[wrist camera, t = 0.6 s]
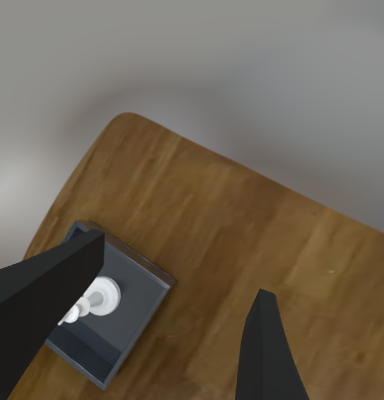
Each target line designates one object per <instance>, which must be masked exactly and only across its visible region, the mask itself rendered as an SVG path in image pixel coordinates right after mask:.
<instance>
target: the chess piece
mask: <svg viewBox="0 0 384 400" xmlns="http://www.w3.org/2000/svg"><path fill="white" fill-rule="evenodd" d="M120 299H121V293H120V289H119V286H118V285H117V283H116V282H115V281H114V280H113V279H111V278H109V277H105V276H101V277H97V278H95V280H94V281H93V283H92V284H91V285H90V287H89V288H88V289H87V290H86V292H85V293H84V294H83V297H80V299H79V300H78V301H77V302H76V303H75V305H74V306H73V307H72V308H71V309H70V310H69V312H68V313H67V314H66V315H65V316H64V317H63V319H62V320H61V321H60V322H59V323H58V325H61V324H62V323H63V321H65V322H68V323H72V322H74V321H76V320H77V319H78V317H79V316H85V315H87V314H88V313H89V311H90V312H91V313H93V314H95V315H99V316H103V315H107V314H110V313H112V312H113V311H114V310H115V309H116V308H117V307H118V305H119V303H120Z"/></svg>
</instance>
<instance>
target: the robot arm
mask: <svg viewBox="0 0 384 400" xmlns="http://www.w3.org/2000/svg"><path fill="white" fill-rule="evenodd" d="M104 249H105V233H104V232H102V231H99V230H96V229H91V230H89V231H87V232H85V233H83V234H81V235H79V236H77V237H75V238H73V239H71V240H69V241H67V242H64V243H62V244H60V245H58V246H56V247H54V248H52V249H50V250H48V251H45V252H43V253H40V254H38V255H36V256H33V257H31V258H29V259H26V260H24V261H21V262H19V263H16V264H13V265H11V266H8V267H5V268H2V269H0V400H7V398H8V397H9V395H10V394H11V392H12V391H13V389H14V387H15V386H16V384H17V383H18V381H19V379H20V378H21V376H22V375H23V373H24V372H25V370H26V369H27V367H28V366H29V364H30V363H31V361H32V360H33V358H34V357H35V355H36V354H37V352H38V351H39V349H40V348H41V347H42V345H43V344H44V342H45V341H46V339H47V338H48V337H49V335H50V334H51V332H52V331H53V330H54V328H55V327H56V326H57V325H58V323H59V322H60V321H61V320H62V319H63V317H64V316H65V315H66V314H67V313H68V312H69V310H70V309H71V308H72V307H73V306H74V305H75V303H76V302H77V301H78V300H79V299H80V297H81V296H82V295H83V294H84V293H85V292H86V290H87V289H88V288H89V287H90V285H91V284H92V283H93V281H94V280H95V278H96V277H97V275H98V274H99V272H100V271H101V269H102V268H103V266H104ZM235 400H309V397H308V395H307V393H306V390H305V388H304V386H303V383H302V381H301V379H300V376H299V374H298V371H297V368H296V366H295V363H294V360H293V357H292V354H291V352H290V349H289V345H288V342H287V339H286V336H285V332H284V329H283V325H282V322H281V318H280V314H279V309H278V305H277V300H276V296H275V294H274V293H271V292H268V291H266V290H263V289H259V292H258V294H257V296H256V298H255V300H254V303H253V305H252V307H251V309H250V311H249V314H248V316H247V318H246V322H245V326H244V331H243V335H242V340H241V347H240V357H239V366H238V376H237V386H236V396H235Z"/></svg>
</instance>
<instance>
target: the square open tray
mask: <svg viewBox="0 0 384 400" xmlns="http://www.w3.org/2000/svg"><path fill="white" fill-rule="evenodd" d="M91 229H96V230H99V231H102V232H104V233H105V249H104V266H103V268H102V269H101V271H100V272H99V274H98V275H97V277H101V276H105V277H109V278H111V279H113V280H114V281H115V282H116V283H117V285H118V286H119V289H120V293H121V299H120V303H119V305H118V307H117V308H116V309H115V310H114V311H113V312H112V313H110V314H107V315H103V316H99V315H95V314H93V313H91V312H90V311H89V313H88V314H87V315H85V316H79V317H78V319H77V320H76V321H74V322H72V323H68V322H65V321H63V323H62V324H61V325H57V326H56V327H55V328H54V330H53V331H52V332H51V334H50V335H49V337H48V338H47V339H46V341H45V342H44V343H45V344H46V345H47V346H48V347H50V348H51V349H52V350H53V351H55V352H56V353H57V354H58V355H60V356H61V357H62V358H63V359H64V360H66V361H67V362H68V363H69V364H71V365H72V366H73V367H74V368H76V369H77V370H78V371H79V372H81V373H82V374H83V375H84V376H85V377H87V378H88V379H89V380H90V381H92V382H93V383H94V384H95V385H97V386H98V387H99V388H100V389H102V390H103V391H105V389H106V388H107V387H108V385H109V384H110V383H111V381H112V380H113V379H114V378H115V376H116V375H117V374H118V372H119V371H120V369H121V367H122V366H123V364H124V363H125V361H126V360H127V358H128V356H129V355H130V353H131V352H132V350H133V349H134V347H135V345H136V344H137V342H138V341H139V339H140V337H141V336H142V334H143V333H144V331H145V330H146V328H147V326H148V325H149V323H150V322H151V320H152V319H153V317H154V315H155V314H156V312H157V311H158V309H159V308H160V306H161V304H162V303H163V301H164V300H165V298H166V296H167V295H168V293H169V292H170V290H171V289H172V287H173V285H174V284H175V282H176V281H177V280H176V279H174V278H173V277H171V276H170V275H168V274H167V273H166V272H164V271H163V270H161V269H160V268H158V267H157V266H156V265H154V264H153V263H151V262H150V261H148V260H147V259H145V258H144V257H143V256H141V255H140V254H138V253H137V252H135V251H134V250H132V249H131V248H130V247H128V246H127V245H125V244H124V243H122V242H121V241H119V240H118V239H117V238H115V237H114V236H112V235H111V234H109V233H108V232H107V231H105V230H104V229H102V228H101V227H99V226H98V225H96V224H95V223H94V222H92V221H81V220H75V222H74V224H73V225H72V227H71V228H70V230H69V231H68V233H67V234H66V236H65V238H64V239H63V241H62V242H61V244H62V243H64V242H67V241H69V240H71V239H73V238H75V237H77V236H79V235H81V234H83V233H85V232H87V231H89V230H91ZM97 277H96V278H97ZM81 297H83V295H82V296H81Z"/></svg>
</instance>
